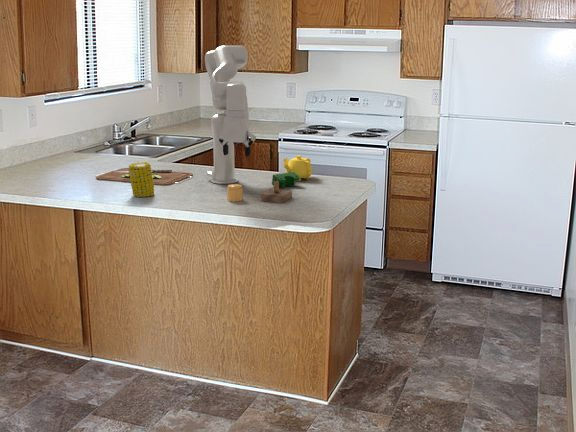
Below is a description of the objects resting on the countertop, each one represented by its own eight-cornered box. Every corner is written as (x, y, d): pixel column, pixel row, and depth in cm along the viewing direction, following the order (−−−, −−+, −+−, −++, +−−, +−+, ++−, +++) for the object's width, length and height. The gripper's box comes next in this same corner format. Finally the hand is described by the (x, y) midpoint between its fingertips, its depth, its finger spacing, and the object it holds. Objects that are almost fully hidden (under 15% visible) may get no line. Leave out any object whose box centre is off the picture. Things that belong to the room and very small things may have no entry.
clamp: (280, 197, 340) (276, 182, 334) (274, 192, 344) (269, 176, 338) (302, 185, 343) (298, 169, 338) (295, 180, 348) (291, 164, 342)
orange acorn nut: (225, 200, 316) (225, 186, 314) (231, 197, 321) (231, 183, 319) (238, 201, 313) (238, 187, 312) (244, 198, 319) (244, 184, 317)
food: (156, 200, 323) (132, 202, 320) (153, 188, 333) (129, 190, 330) (154, 167, 315) (129, 170, 313) (150, 156, 325) (126, 159, 323)
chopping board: (88, 180, 357) (88, 173, 357) (120, 169, 382) (119, 163, 381) (172, 187, 342) (172, 180, 341) (199, 176, 366) (199, 170, 365)
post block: (260, 200, 315) (260, 183, 313) (270, 195, 324) (270, 178, 322) (283, 203, 312) (283, 185, 310) (291, 197, 321) (291, 180, 319)
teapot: (283, 175, 365) (283, 152, 362) (311, 175, 365) (311, 153, 362) (283, 182, 351) (283, 158, 348) (312, 182, 351) (312, 158, 348)
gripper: (212, 114, 308) (213, 155, 312) (251, 116, 302) (252, 158, 306) (220, 112, 315) (221, 152, 319) (258, 114, 309) (259, 155, 313)
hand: (236, 155), depth 313 cm, fingers open, 9 cm apart
